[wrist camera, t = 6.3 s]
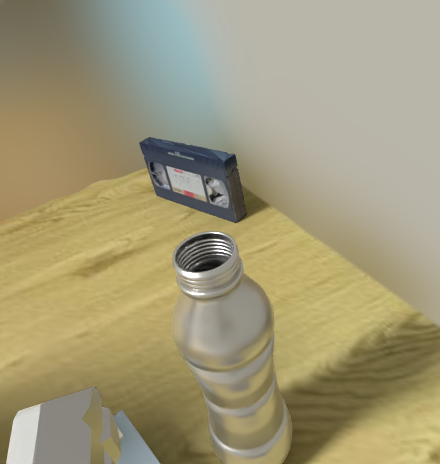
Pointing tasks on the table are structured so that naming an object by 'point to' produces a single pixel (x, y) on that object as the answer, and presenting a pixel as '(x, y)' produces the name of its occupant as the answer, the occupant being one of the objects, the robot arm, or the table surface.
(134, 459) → the letter block
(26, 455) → the robot arm
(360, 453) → the table surface
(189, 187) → the vhs cassette tape
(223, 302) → the plastic bottle
